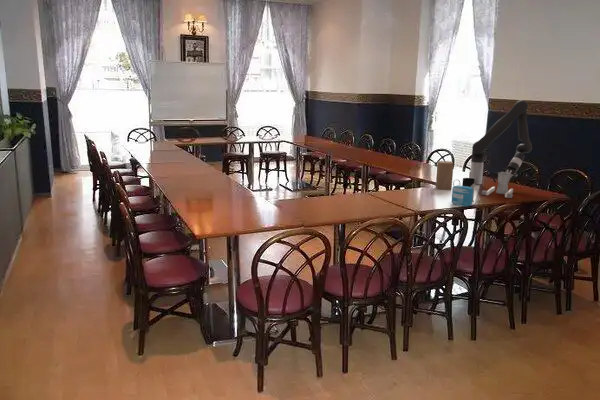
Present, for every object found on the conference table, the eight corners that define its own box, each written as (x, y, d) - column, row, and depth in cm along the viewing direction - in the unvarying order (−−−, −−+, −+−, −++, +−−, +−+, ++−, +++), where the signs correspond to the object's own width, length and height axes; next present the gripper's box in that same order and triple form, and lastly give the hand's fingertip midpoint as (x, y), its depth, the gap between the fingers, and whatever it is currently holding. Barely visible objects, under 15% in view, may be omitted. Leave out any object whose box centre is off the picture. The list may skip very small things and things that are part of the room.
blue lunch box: (472, 202, 323) (474, 180, 320) (450, 200, 330) (452, 178, 327) (475, 200, 330) (477, 178, 327) (453, 197, 337) (455, 176, 334)
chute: (481, 194, 349) (481, 191, 349) (488, 189, 367) (488, 186, 367) (511, 198, 339) (511, 194, 338) (517, 192, 357) (517, 189, 356)
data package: (451, 204, 320) (452, 185, 317) (454, 202, 323) (455, 184, 320) (468, 207, 312) (470, 188, 309) (471, 205, 315) (473, 187, 312)
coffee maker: (511, 192, 356) (514, 168, 352) (511, 195, 349) (514, 169, 345) (489, 190, 362) (492, 166, 358) (488, 193, 355) (491, 168, 351)
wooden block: (448, 187, 374) (451, 161, 369) (451, 190, 364) (453, 163, 360) (435, 187, 375) (437, 161, 370) (437, 189, 365) (439, 162, 361)
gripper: (504, 160, 370) (494, 178, 365) (521, 162, 360) (510, 181, 355) (507, 167, 374) (497, 184, 369) (524, 169, 364) (513, 187, 359)
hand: (503, 182), depth 362 cm, fingers closed
